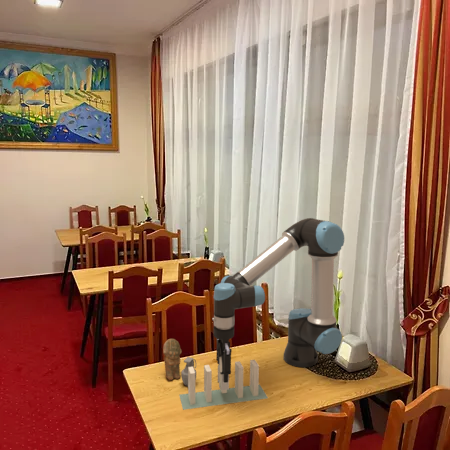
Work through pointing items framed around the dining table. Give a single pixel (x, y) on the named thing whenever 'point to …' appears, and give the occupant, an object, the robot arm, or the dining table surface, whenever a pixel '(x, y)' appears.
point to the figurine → (172, 358)
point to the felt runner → (221, 397)
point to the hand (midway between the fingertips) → (223, 385)
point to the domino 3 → (220, 374)
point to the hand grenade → (184, 372)
